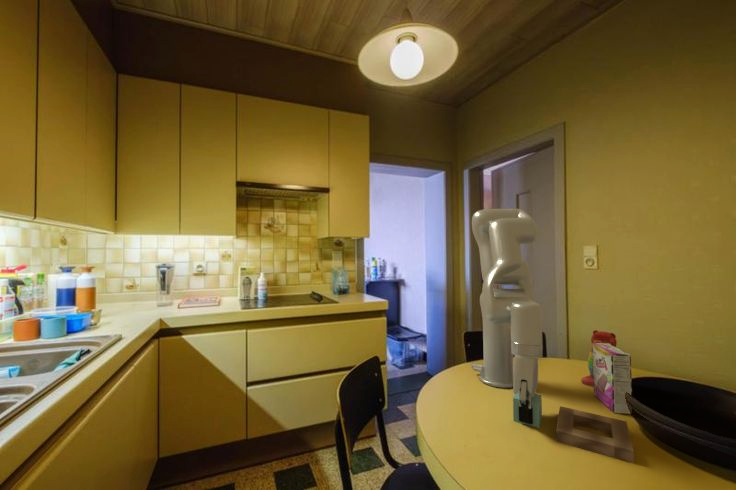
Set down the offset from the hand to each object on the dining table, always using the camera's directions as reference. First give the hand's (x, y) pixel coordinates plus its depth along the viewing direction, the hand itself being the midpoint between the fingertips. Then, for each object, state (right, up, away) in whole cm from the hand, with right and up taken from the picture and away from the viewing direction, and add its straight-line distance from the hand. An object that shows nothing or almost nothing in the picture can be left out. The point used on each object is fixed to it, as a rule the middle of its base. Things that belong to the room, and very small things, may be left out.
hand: (527, 416), depth 84 cm
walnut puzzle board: (+12, -1, -8) cm, 14 cm away
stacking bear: (+36, -1, +20) cm, 41 cm away
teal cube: (0, -1, 0) cm, 1 cm away
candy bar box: (+28, -1, +7) cm, 29 cm away
